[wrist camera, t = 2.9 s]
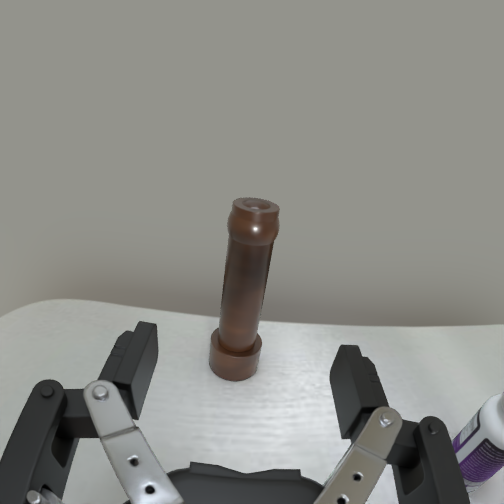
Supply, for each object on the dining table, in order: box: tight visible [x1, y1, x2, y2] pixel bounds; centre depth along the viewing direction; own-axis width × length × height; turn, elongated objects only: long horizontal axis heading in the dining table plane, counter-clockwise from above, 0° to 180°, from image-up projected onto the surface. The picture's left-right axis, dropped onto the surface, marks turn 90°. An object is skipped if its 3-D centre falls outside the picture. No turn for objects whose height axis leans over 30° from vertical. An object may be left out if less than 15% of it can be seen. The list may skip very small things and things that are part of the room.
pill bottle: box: [452, 392, 504, 493], centre depth 16 cm, size 5×5×10 cm
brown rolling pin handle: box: [209, 198, 280, 381], centre depth 25 cm, size 4×4×15 cm
